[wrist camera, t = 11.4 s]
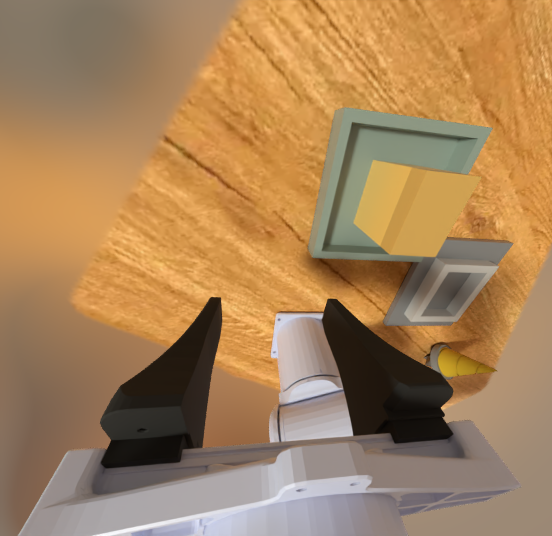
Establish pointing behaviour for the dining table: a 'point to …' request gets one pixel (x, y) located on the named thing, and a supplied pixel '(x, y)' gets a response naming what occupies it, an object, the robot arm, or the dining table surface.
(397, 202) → the yellow rectangular block
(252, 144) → the dining table surface
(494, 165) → the dining table surface
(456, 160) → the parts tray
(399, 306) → the board
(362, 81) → the dining table surface
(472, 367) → the yellow cone
